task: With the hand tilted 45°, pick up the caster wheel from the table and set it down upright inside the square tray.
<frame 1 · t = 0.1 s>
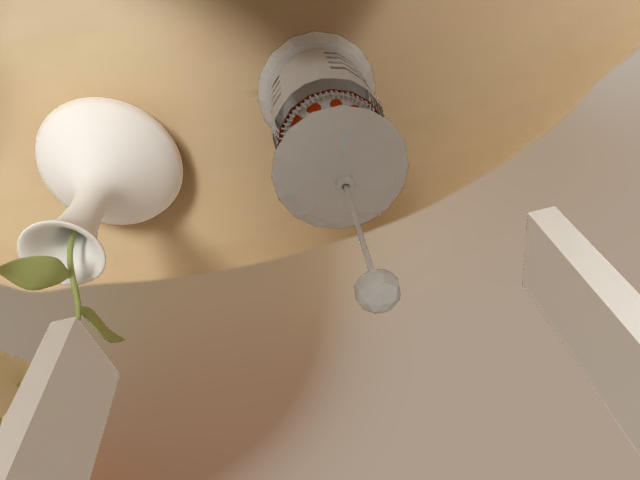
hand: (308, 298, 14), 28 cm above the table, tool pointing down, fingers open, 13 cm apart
flower in vase: (121, 163, 40), on the table
french press: (321, 103, 39), on the table
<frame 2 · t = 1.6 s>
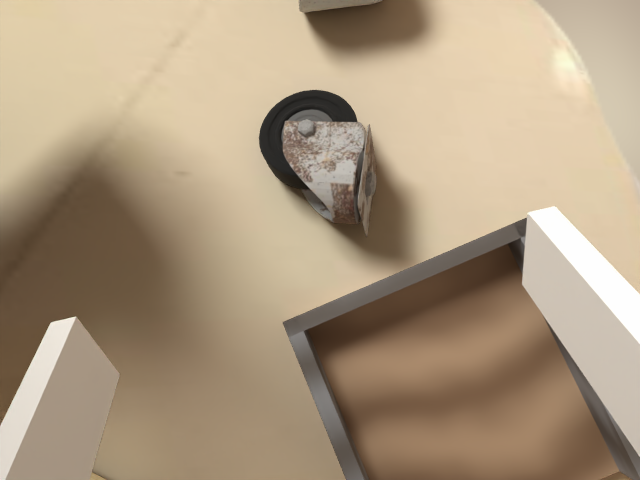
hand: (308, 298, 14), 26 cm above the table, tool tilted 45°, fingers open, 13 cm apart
caster wheel: (319, 167, 41), on the table
square tray: (450, 387, 38), on the table
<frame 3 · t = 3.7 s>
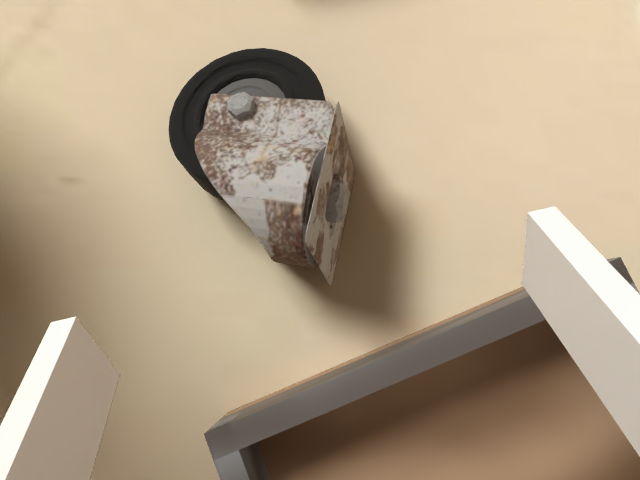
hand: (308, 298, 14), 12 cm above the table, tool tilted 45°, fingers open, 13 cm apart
caster wheel: (268, 170, 27), on the table
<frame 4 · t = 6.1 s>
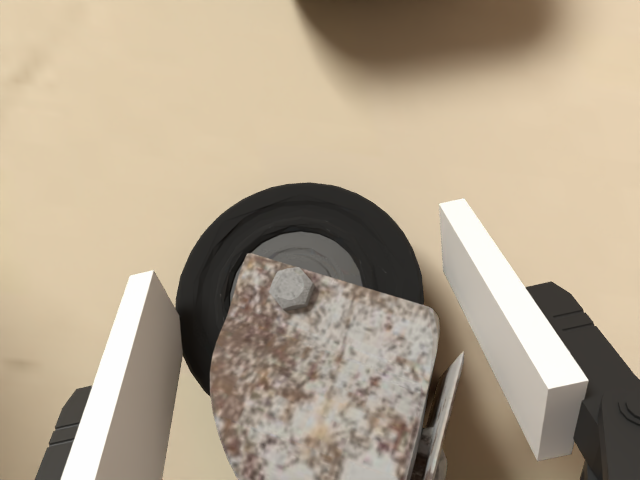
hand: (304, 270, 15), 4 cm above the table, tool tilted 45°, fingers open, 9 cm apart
caster wheel: (314, 347, 18), on the table, touching gripper
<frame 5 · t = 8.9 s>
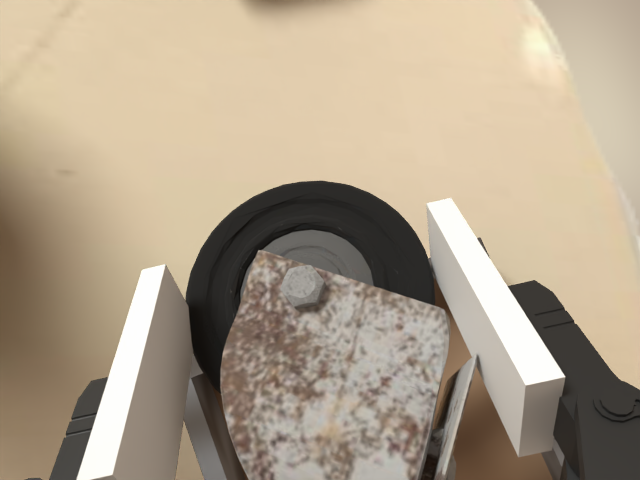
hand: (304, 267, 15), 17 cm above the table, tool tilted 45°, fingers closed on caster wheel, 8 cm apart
caster wheel: (322, 346, 18), point 13 cm above the table, touching gripper
square tray: (383, 445, 30), on the table
when the fingers open (6 cm above the table, at t = 11.7 s): caster wheel drops 1 cm, resting on square tray.
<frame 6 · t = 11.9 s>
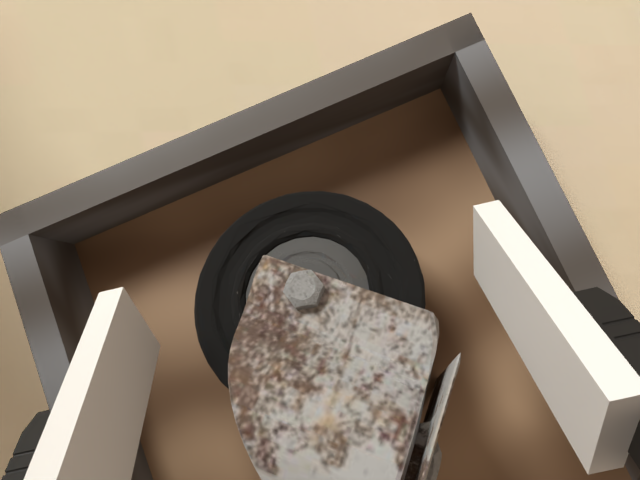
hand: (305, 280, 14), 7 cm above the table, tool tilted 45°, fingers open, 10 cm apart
caster wheel: (320, 345, 20), point 1 cm above the table, touching square tray
square tray: (334, 352, 21), on the table
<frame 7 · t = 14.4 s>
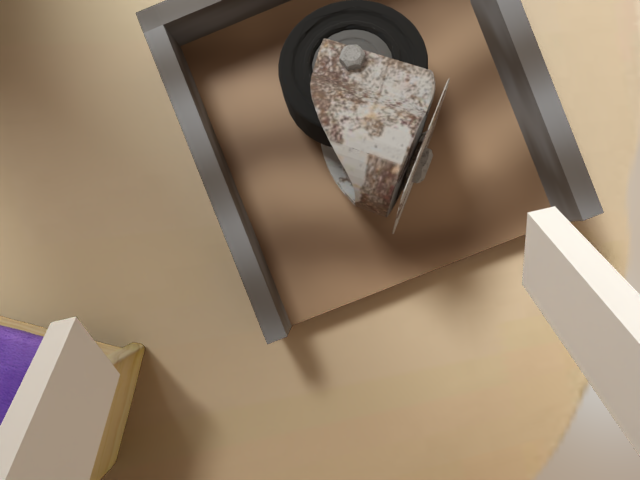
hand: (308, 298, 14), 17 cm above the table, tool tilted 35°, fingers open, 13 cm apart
caster wheel: (353, 117, 29), point 1 cm above the table, touching square tray
square tray: (362, 128, 30), on the table
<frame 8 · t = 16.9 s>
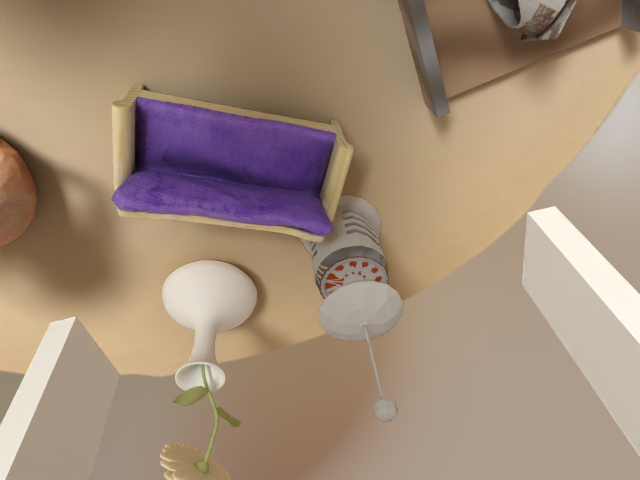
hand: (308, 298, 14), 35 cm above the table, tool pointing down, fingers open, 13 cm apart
flower in vase: (215, 291, 59), on the table
toy sofa: (236, 139, 48), on the table
french press: (344, 234, 56), on the table
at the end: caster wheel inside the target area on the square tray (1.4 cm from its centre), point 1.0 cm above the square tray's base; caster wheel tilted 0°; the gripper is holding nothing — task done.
